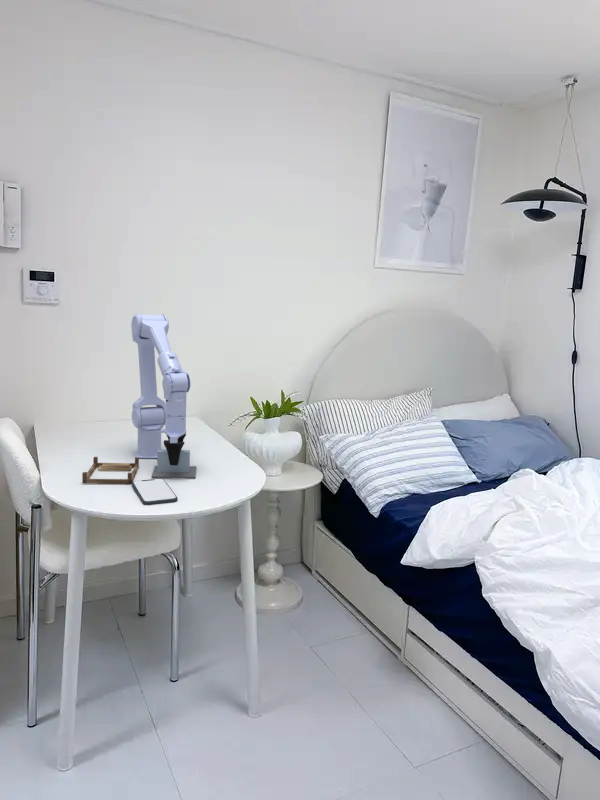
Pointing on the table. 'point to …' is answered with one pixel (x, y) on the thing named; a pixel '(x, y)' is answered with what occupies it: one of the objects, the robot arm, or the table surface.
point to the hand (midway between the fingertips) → (174, 461)
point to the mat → (175, 474)
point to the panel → (165, 466)
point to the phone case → (154, 492)
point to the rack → (109, 481)
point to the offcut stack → (115, 467)
